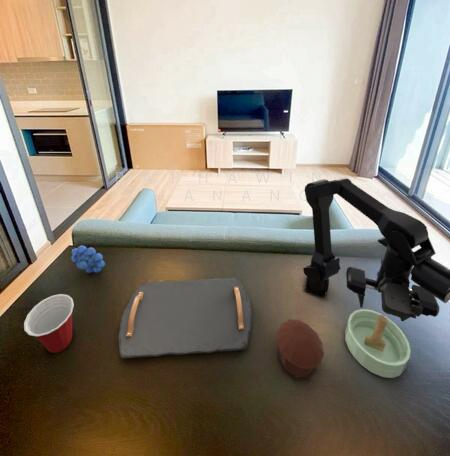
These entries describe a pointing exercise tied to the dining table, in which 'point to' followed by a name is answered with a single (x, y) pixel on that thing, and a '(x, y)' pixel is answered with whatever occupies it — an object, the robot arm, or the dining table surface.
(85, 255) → the grapes
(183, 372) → the dining table surface
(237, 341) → the serving tray
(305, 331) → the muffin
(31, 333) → the plastic cup
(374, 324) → the bowl
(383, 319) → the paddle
